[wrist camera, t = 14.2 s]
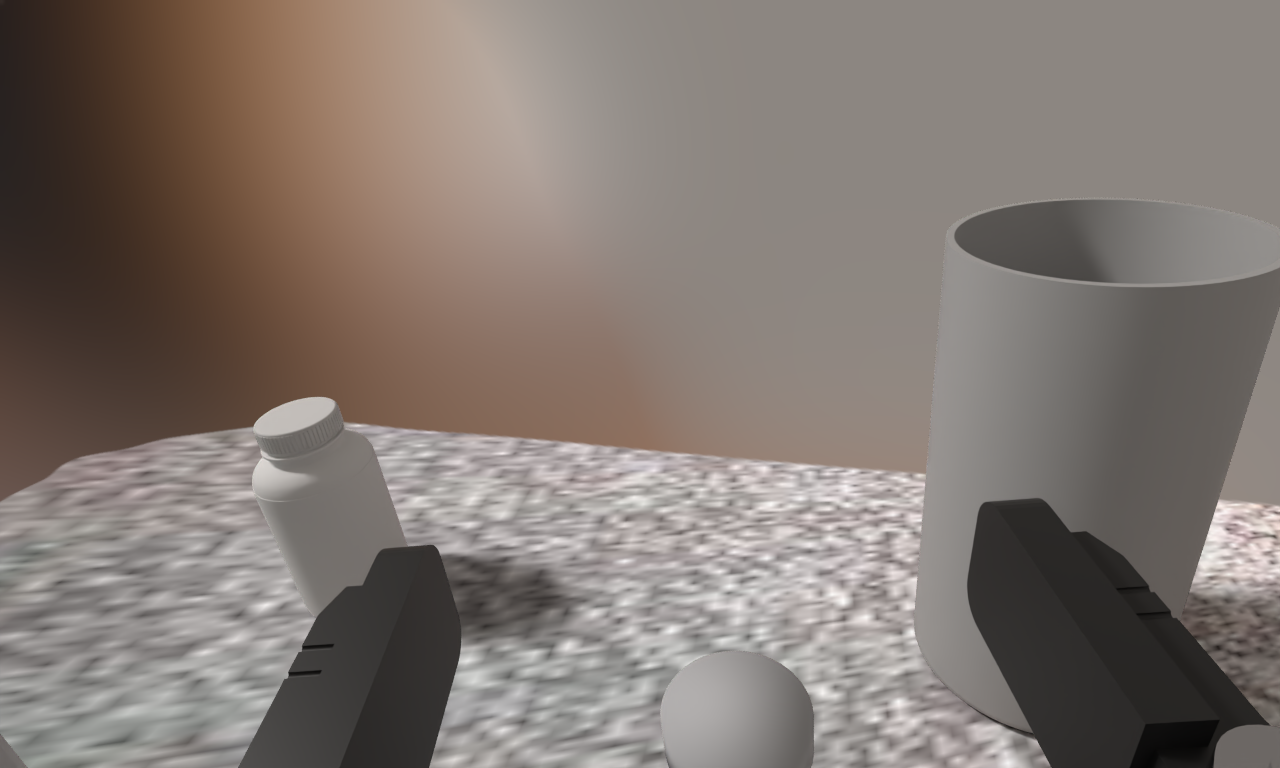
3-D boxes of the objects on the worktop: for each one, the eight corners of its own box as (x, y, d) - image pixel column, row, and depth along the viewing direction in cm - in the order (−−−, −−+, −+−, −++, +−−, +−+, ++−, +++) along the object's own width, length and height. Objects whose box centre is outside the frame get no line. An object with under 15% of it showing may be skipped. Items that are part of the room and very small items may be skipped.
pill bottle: (369, 540, 59) (310, 379, 52) (437, 568, 55) (382, 397, 48) (283, 605, 53) (204, 433, 46) (352, 642, 49) (276, 459, 42)
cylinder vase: (1181, 636, 42) (1318, 211, 30) (1116, 795, 34) (1266, 311, 23) (964, 549, 50) (1008, 190, 38) (875, 662, 42) (895, 258, 31)
